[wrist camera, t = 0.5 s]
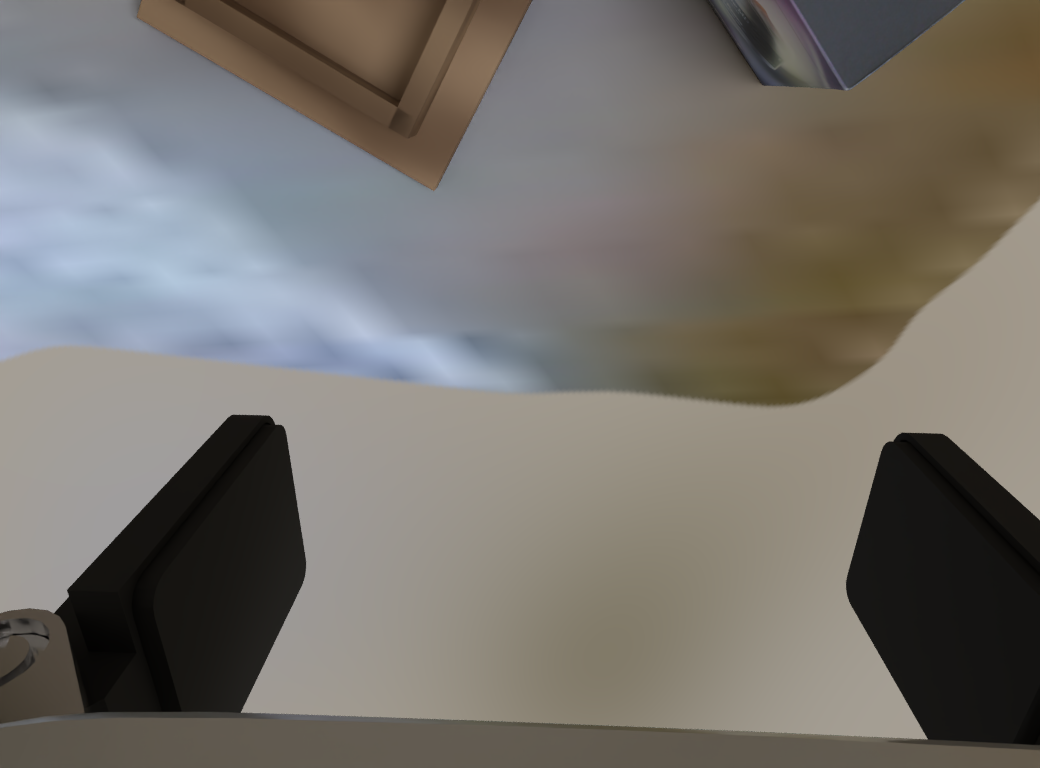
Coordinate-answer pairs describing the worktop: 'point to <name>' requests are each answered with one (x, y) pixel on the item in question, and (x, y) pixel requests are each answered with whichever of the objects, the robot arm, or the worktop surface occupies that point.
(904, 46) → the small box
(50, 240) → the worktop surface
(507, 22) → the brown shallow box
